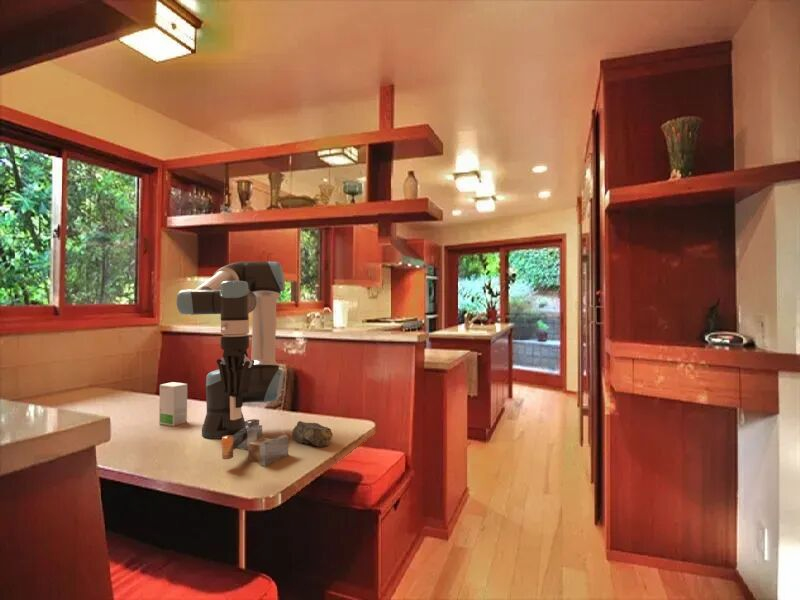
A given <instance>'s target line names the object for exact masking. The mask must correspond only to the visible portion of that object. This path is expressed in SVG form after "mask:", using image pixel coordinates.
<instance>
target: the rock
mask: <svg viewBox="0 0 800 600" xmlns="http://www.w3.org/2000/svg"><path fill="white" fill-rule="evenodd" d="M291 434H292V435H291V436H292V438H293V439H295V440H296V441H297V443H300V444H307V443H308V444H312V445H313V446H315V447H318V448H323V447H325V446H327V447H328V446H329V445H330V442H331V440H332V438H334V437H333V432H332V430H331V428H330V427H328V426H323V425H321V424H320V423H318V422H305V421H302V420H299V421H298V422H297V423H296V425H295V426H294V428H293V430H292V432H291Z"/></svg>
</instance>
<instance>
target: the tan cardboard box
mask: <svg viewBox="0 0 800 600" xmlns="http://www.w3.org/2000/svg"><path fill="white" fill-rule="evenodd" d="M272 439H273V438H272ZM272 439H271V438H269V439H268V437H264V438H261V439H258V440H256V441H253V442H251V443H249V450H248V460H250V461H255V462H258V463H260V445H261V444H263V443H265V442H268V441H270V440H272Z"/></svg>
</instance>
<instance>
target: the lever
mask: <svg viewBox="0 0 800 600" xmlns="http://www.w3.org/2000/svg"><path fill="white" fill-rule="evenodd" d="M244 421H245V427H244V428H242V429H241V430H240V431H238V432H237V433H236V434H235V435H233V436H232V435H226V436H223V437H222V438H221V458H222V460H231V459H233V458H234V450H235V449H236V447H237V446H239V445H240V444H241V443H242V442H243V441H244V440H246V439H247V446H249V443H251V442H253V441H256V440H258V439H261V438H262V437H263V425H262V424H260V420H259V419H256V418H255V419H254V418H253V419H248V420H244Z"/></svg>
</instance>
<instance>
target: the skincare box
mask: <svg viewBox="0 0 800 600" xmlns="http://www.w3.org/2000/svg"><path fill="white" fill-rule="evenodd" d="M158 405H159V407H158V408H159V413H158V416H159V418H158V419H159V420H158V424H159V425H166V426H170V427H176V426H178V425H181V424H185V423H187V422H188V421H187V419H188V383H183V382H176V381H175V382H174V381H171V382H167V383H162V384H159V404H158Z"/></svg>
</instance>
